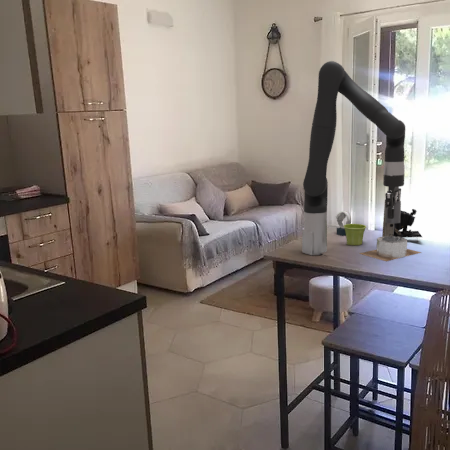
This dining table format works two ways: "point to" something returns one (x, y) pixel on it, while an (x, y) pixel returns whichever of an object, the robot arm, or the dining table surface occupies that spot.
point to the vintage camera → (400, 226)
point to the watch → (340, 218)
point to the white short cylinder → (392, 246)
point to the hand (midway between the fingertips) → (392, 216)
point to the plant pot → (354, 233)
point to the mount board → (375, 255)
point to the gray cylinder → (396, 213)
